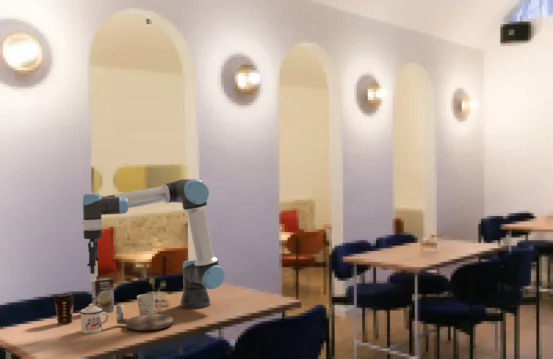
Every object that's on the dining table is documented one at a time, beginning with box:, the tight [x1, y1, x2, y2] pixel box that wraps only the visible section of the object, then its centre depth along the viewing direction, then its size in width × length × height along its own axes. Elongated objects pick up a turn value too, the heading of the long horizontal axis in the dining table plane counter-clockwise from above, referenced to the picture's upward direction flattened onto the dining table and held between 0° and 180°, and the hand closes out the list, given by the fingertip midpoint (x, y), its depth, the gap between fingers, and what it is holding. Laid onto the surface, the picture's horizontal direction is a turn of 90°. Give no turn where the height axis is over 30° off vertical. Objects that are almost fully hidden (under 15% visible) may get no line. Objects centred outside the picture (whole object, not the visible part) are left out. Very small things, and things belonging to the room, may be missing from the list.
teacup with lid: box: [80, 303, 109, 334], centre depth 260 cm, size 12×9×12 cm
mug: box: [136, 293, 163, 316], centre depth 284 cm, size 8×13×10 cm, turn 137°
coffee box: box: [91, 277, 115, 313], centre depth 295 cm, size 9×6×16 cm
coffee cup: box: [53, 292, 75, 326], centre depth 274 cm, size 9×8×13 cm
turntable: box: [115, 304, 174, 331], centre depth 264 cm, size 24×20×8 cm
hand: (93, 278), depth 259 cm, fingers open, 13 cm apart
